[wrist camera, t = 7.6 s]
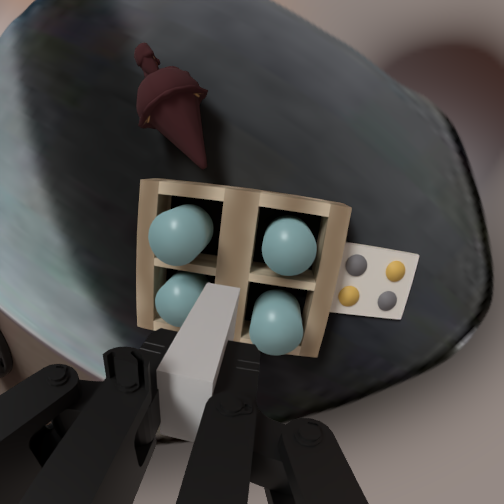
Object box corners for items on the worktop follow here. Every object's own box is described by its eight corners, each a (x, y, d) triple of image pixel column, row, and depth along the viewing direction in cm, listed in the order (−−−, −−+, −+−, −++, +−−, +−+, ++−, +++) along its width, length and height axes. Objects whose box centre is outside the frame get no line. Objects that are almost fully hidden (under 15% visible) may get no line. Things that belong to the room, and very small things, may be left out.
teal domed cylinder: (250, 327, 32) (246, 351, 27) (256, 285, 30) (253, 305, 26) (295, 333, 31) (297, 358, 27) (304, 292, 30) (308, 313, 26)
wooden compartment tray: (150, 311, 35) (137, 326, 32) (156, 178, 31) (140, 179, 27) (313, 338, 35) (317, 357, 31) (342, 203, 30) (351, 207, 26)
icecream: (243, 139, 24) (172, 21, 22) (161, 181, 23) (103, 55, 22) (238, 159, 30) (179, 55, 29) (174, 192, 30) (122, 84, 28)
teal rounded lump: (169, 303, 34) (155, 322, 30) (171, 264, 33) (155, 279, 28) (209, 311, 34) (199, 331, 29) (213, 271, 33) (203, 287, 28)
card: (321, 308, 33) (322, 311, 33) (336, 240, 31) (337, 241, 31) (399, 317, 33) (401, 320, 32) (417, 254, 31) (420, 255, 30)
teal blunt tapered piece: (261, 257, 32) (258, 271, 27) (267, 211, 30) (265, 218, 26) (306, 264, 31) (311, 279, 27) (314, 218, 30) (321, 227, 26)
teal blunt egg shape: (165, 248, 30) (147, 261, 26) (168, 201, 29) (150, 207, 24) (211, 255, 30) (199, 270, 25) (215, 207, 29) (204, 213, 24)
